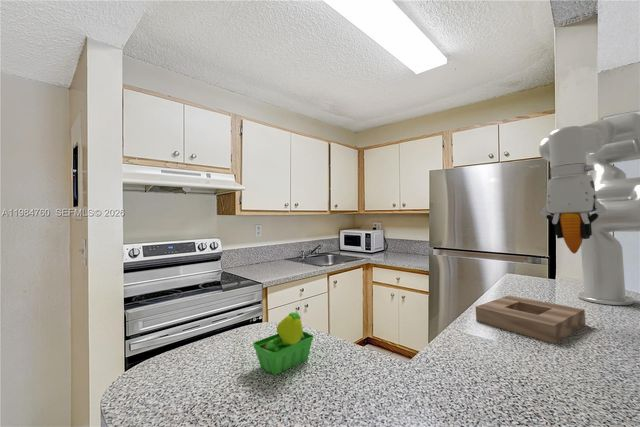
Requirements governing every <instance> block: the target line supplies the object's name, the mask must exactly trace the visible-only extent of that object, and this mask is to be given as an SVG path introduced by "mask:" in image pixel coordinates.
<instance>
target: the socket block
mask: <svg viewBox="0 0 640 427" xmlns="http://www.w3.org/2000/svg"><path fill="white" fill-rule="evenodd" d="M474 308H475V321H476V322H479V323H482V324H484V325H489V326H491V327H492V326H493V327H495V328H500V329H502V330H506V331H510V332H514V333H515V334H517V333H518V334H521V335H522V336H523V335H524V336H527V337H531V338H534V339H537V340H542V341H545V342H549V343H551V344H557V343H559V342H560V341H562V340H565V338H567V337H569V336H570V335H572V334H573V333H575V332H577V331H578V330H580V329H581V328H584V327H585V326H586V310H585V309H583V308H578V307H575V306H574V307H573V306H569V305H568V306H567V305H563V304H558V303H552V302H548V301H547V302H546V301H542V300H536V299H530V298H526V297H520V296H514V295H510V294H508V295H505V296H503V297H500V298H497V299H494V300H491V301H488V302H485V303H482V304H479V305H477V306H476V305H475V307H474Z"/></svg>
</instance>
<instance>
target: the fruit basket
mask: <svg viewBox="0 0 640 427" xmlns="http://www.w3.org/2000/svg"><path fill="white" fill-rule="evenodd" d="M313 340H314V335H313V334H310V333H308V332H307V331H304V329H303V324H302V320H301V315H300V313H297V312H294V311H292V312H290V313H288V315H287V316H285V317H284V318H283V319H282V320H281V321H280V322H279V323H278V324H277V325H276V333H275V334H273V335H270V336H268V337H265V338H262V339H259V340H256V341H253V343H252V345H253V349H254V350H255V352H256V356H257V358H258V363H259V366H260V368H262V369H264V370H265V371H266V372H268V373H271V374H272V375H273V376H276V375H278V374H280V373H282V372H283V371H287V370H288V369H290V368H292V367H294V366H297V365H300V363H302V362H305V361H307V360H308V359H309V355H310V351H311V346H312V342H313Z"/></svg>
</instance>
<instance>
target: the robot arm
mask: <svg viewBox="0 0 640 427" xmlns="http://www.w3.org/2000/svg"><path fill="white" fill-rule="evenodd" d="M538 147H539V148H538V152H539V155H540V157H541V158H542V159H543V160H545V161H548V162H550V179H548V183H547V188H546V189H547V190H546V203H545V204H544V206H543V207H542V209H541V210H540V211H539V214H540V215H541V216H543V218H546V219H547V220H549V221H550V222H551V223H552V224H553V225H554V234H555V236H556V238H557V239H562V238H563V234H562V231H561V223H560V215H561V214H563V213H580V215H581V217H582V220H583V224H581V231H582V238H583V240H582V243H581V246H580V250H581V251H580V253H581V264H582V265H581V266H582V267H581V268H582V280H583V283H582V284H583V291H580V292H578V294H577V298H579V299H581V300H583V301H587V302H590V303H596V304H601V305H609V306H630V305H633V304H634V299H633V297H632V298H631V297H630V296H627V295H626V285H625V284H626V282H625V268H624V255H623V254H624V253H623V247H622V246H623V245H622V244H621V242H620V241H619V240H618V239H617V238H616V237H615V236H613V235H612V234H611V232H612V233H614V232H636V233H637V232H640V176H638V177H628V178H627V174H626V173H625V172H624V171H623V170H622V169H621V168H619V167H618V166H615V165H613V164H614V163H620V162H628V161H629V162H630V161H636V160H640V113H636V112H630V113H625V114H621V115H617V116H613V117H608V118H604V119H603V118H602V119H599V120H595V121H592V122H590V123H586V124H584V125H570V126H565V127H561V128H558V129H555V130H552V131H550V133H549V135H548V136H545V137H544V138H543V139H541V141H540V144H539V146H538ZM569 204H570V205H569ZM563 239H564V238H563Z"/></svg>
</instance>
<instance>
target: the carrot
mask: <svg viewBox="0 0 640 427" xmlns="http://www.w3.org/2000/svg"><path fill="white" fill-rule="evenodd" d="M569 205H570V204H569ZM560 223H561V231H562V234H563V240H564V243H565V245H566V247H567V248H568V250H569V251H570V252H571V253H572V254H576V253H578V251H579V250H580V249H581V243H582V240H583V238H582V231H581V224H583V220H582V217H581V215H580V213H563V214H561V215H560Z"/></svg>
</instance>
